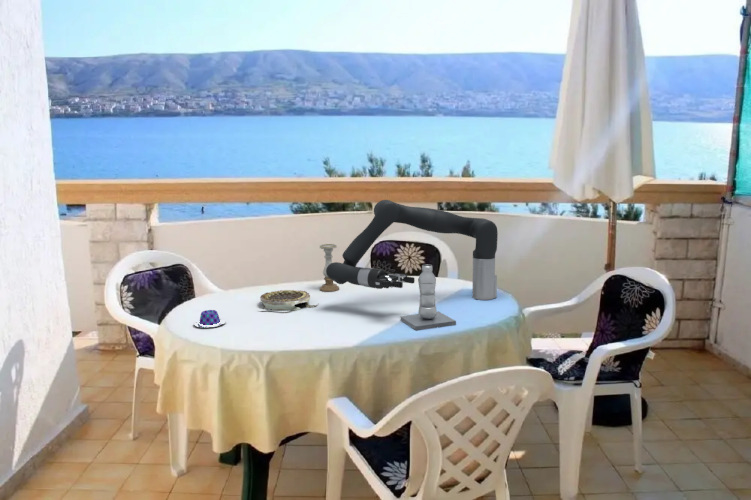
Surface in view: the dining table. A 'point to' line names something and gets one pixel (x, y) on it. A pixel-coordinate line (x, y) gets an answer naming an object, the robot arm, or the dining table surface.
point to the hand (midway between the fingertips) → (408, 282)
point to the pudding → (209, 317)
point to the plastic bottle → (427, 293)
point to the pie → (285, 300)
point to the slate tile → (427, 321)
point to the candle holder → (328, 256)
